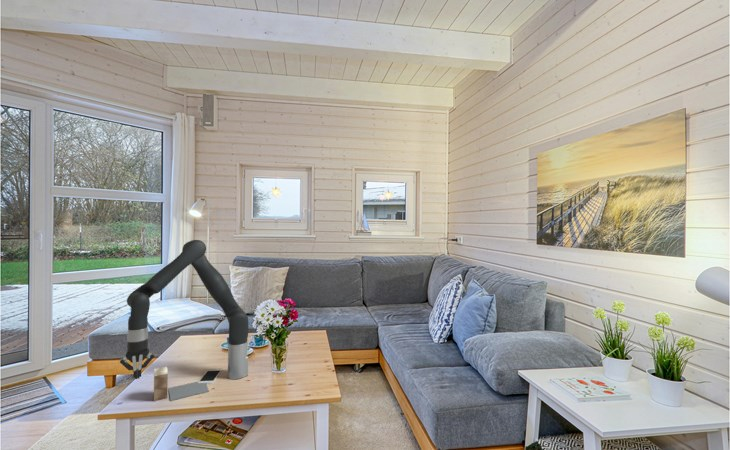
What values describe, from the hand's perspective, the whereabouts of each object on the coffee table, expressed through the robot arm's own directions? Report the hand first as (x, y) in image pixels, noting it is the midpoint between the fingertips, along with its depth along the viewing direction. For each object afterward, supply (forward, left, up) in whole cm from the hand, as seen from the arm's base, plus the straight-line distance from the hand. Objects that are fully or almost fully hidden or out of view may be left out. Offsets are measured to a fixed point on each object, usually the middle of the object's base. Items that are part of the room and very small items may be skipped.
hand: (137, 378), depth 146 cm
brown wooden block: (-9, 0, -10) cm, 14 cm away
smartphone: (-31, -10, -11) cm, 34 cm away
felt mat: (-20, 0, -10) cm, 23 cm away
